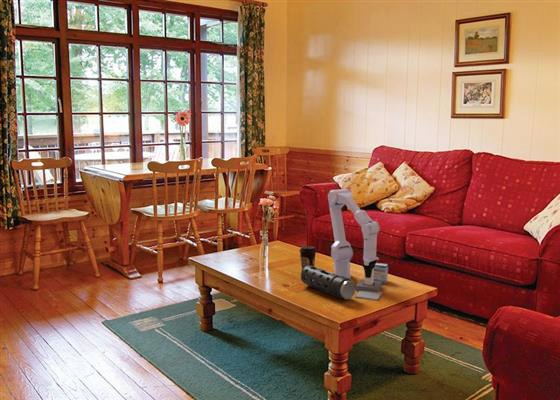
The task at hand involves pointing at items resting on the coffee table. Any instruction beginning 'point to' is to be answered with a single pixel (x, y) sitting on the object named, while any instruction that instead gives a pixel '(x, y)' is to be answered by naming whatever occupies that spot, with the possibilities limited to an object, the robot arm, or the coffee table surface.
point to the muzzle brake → (328, 282)
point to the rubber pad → (368, 295)
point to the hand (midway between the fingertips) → (369, 276)
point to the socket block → (369, 286)
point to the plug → (369, 279)
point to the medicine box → (381, 272)
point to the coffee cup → (307, 256)
